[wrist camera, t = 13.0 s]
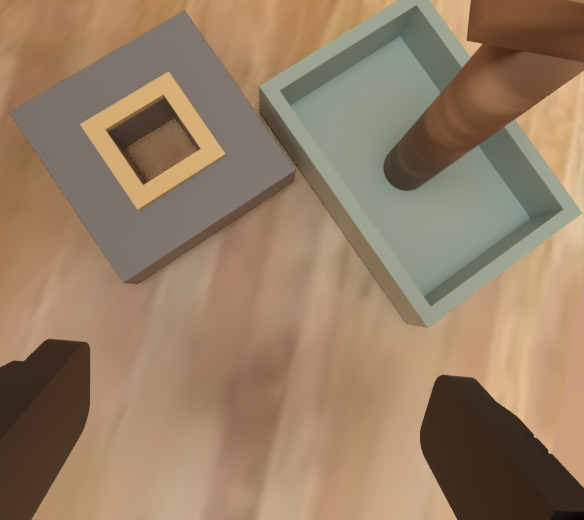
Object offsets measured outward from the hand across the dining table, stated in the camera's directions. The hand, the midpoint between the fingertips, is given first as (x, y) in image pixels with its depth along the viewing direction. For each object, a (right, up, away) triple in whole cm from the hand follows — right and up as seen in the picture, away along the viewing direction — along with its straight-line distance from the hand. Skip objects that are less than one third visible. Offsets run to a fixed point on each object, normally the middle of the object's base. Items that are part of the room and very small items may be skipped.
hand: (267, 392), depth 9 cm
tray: (+9, +10, +22) cm, 26 cm away
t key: (+9, +10, +21) cm, 25 cm away
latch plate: (-9, +11, +21) cm, 25 cm away
